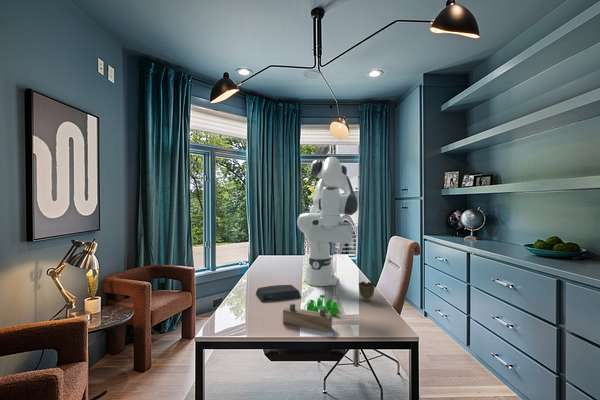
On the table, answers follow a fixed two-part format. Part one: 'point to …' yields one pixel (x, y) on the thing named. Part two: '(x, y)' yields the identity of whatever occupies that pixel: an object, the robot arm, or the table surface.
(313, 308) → the chandelier
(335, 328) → the table surface
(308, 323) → the walnut block
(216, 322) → the table surface
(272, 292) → the external hard drive
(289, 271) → the table surface
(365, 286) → the cup
